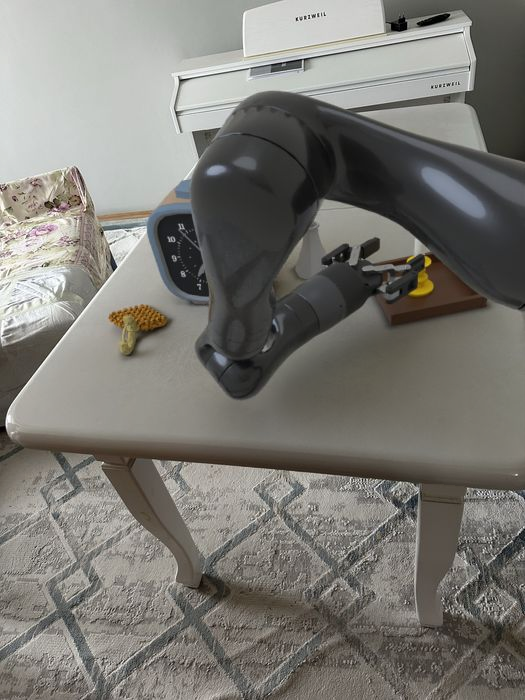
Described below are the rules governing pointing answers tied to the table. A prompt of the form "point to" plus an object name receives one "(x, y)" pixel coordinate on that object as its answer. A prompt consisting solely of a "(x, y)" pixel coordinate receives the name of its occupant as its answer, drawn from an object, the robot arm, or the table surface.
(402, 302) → the tray
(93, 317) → the table surface
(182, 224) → the alarm clock
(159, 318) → the ornament
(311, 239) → the flask
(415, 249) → the candle
